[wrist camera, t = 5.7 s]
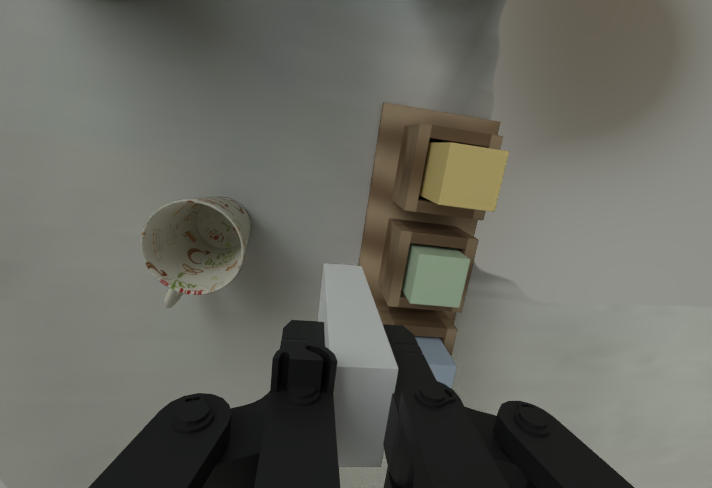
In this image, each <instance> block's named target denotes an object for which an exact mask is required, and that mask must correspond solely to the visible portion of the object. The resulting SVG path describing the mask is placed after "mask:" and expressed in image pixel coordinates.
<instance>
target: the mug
mask: <svg viewBox="0 0 712 488" xmlns="http://www.w3.org/2000/svg"><path fill="white" fill-rule="evenodd" d="M250 228H251V224H250V218H249V216H248V214H247V212H246V210H245V209H244V208H243V207H242V206H241V205H240V204H239V203H238V202H236V201H234V200H232V199H229V198H225V197H210V198H193V199H182V200H177V201H174V202H171V203H168V204H166V205H164V206H162V207H161V208H159V209H158V210H157V211H155V212H154V213H153V214H152V215H151V216H150V218H149V219H148V221H147V222H146V224H145V226H144V228H143V231H142V235H141V252H142V256H143V259H144V262H145V264H146V266H147V267H148V269H149V271H150V272H151V273H152V274H153V275H154V277H155V278H156V279H158V280H159V281H160V282H161V283H162V284H164V285H165V286H167V287H169V290H168V292H167V294H166V297H165V300H164V305H165V307H166V308H170V307H172V306H173V305H174V304H175V303H176V302H177V301H178V300H179V299H180V297H181V296H182V294H183V293H185V294H192V295H202V294H208V293H212V292H215V291H217V290H220V289H221V288H223V287H225V286H226V285H228V284H229V283H230V282H231V281H232V280H233V279H234V278H235V277H236V276H237V274H238V273H239V271H240V269H241V267H242V265H243V262H244V258H245V254H246V249H247V244H248V239H249V234H250Z"/></svg>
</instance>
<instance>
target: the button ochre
mask: <svg viewBox="0 0 712 488" xmlns="http://www.w3.org/2000/svg"><path fill="white" fill-rule="evenodd" d="M508 154H509V151H503V150H497V149H490V148H484V147H477V146H471V145H465V144H458V143H452V142H442V143H429V144H428V150H427V155H426V160H425V166H424V171H423V176H422V182H421V187H420V192H419V195H420V196H422V197H424V198H426V199H428V200H430V201H432V202H434V203H436V204H438V205H446V206H453V207H461V208H469V209H477V210H484V211H492V212H494V211H495V208H496V203H497V200H498V195H499V191H500V186H501V183H502V179H503V175H504V171H505V167H506V162H507V158H508Z"/></svg>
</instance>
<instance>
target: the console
mask: <svg viewBox="0 0 712 488" xmlns="http://www.w3.org/2000/svg"><path fill="white" fill-rule="evenodd" d="M499 126H500V122H497V121H492V120H486V119H480V118H474V117H468V116H462V115H456V114H450V113H444V112H438V111H432V110H426V109H420V108H414V107H408V106H402V105H396V104H390V103H383V106H382V113H381V120H380V126H379V133H378V140H377V146H376V153H375V160H374V166H373V173H372V179H371V186H370V193H369V199H368V206H367V213H366V219H365V226H364V233H363V239H362V246H361V252H360V259H359V266H362V269H363V271H364V274H365V277H366V280H367V283H368V285H369V288H370V291H371V294H372V297H373V299H374V302H375V305H376V308H377V310H378V313H379V316H380V319H381V322H382V324H389V325H403V326H404V327H406V328H407V329H408V330H409V331H410V332H411V333H413V334H414V336H426V337H439V338H440V340H441V341H442V343H443V345H444V346H445V348H446V349H447V351H448V352H449V354H450V356H451V355H452V350H453V346H454V342H455V338H456V333H457V328H456V327H455V326H454V320H455V315H456V312H462V308H463V304H464V300H465V295H466V291H467V287H468V283H469V279H470V274H471V270H472V266H473V262H474V257H475V253H476V249H477V245H478V239H476V238H475V237H474V234H475V229H476V225H477V221H478V220H483V219H484V215H485V211H484V210H477V209H469V208H461V207H453V206H446V205H438V204H436V203H434V202H432V201H430V200H428V199H426V198H424V197H422V196H420V195H419V192H420V187H421V182H422V176H423V171H424V166H425V160H426V155H427V150H428V144H429V143H442V142H452V143H458V144H465V145H471V146H477V147H484V148H490V149H497V150H500V147H501V143H502V139H503V136H498V130H499ZM410 243H416V244H425V245H434V246H443V247H451V248H456V249H457V250H459V251H460V252H461V253H463V254H464V255H465V256H467V257H468V258H469V259H470V263H469V268H468V272H467V276H466V281H465V285H464V289H463V293H462V298H461V302H460V306H459V308H456V307H445V306H434V305H422V304H411V303H409V301H408V299H407V298H406V296H405V294H404V292H403V291H402V284H403V278H404V273H405V268H406V262H407V257H408V252H409V246H410Z"/></svg>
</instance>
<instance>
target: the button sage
mask: <svg viewBox="0 0 712 488" xmlns="http://www.w3.org/2000/svg"><path fill="white" fill-rule="evenodd" d="M469 263H470V259H469V258H468V257H467V256H465V255H464V254H463V253H461V252H460V251H459V250H457V249H456V248H451V247H443V246H434V245H425V244H416V243H410V246H409V252H408V257H407V262H406V268H405V273H404V278H403V284H402V291H403V292H404V294H405V296H406V298H407V299H408V301H409V303H411V304H422V305H434V306H445V307H456V308H459V306H460V302H461V298H462V293H463V289H464V285H465V281H466V276H467V272H468V268H469Z"/></svg>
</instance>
